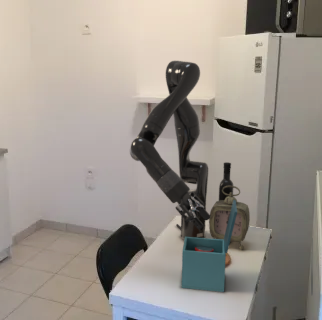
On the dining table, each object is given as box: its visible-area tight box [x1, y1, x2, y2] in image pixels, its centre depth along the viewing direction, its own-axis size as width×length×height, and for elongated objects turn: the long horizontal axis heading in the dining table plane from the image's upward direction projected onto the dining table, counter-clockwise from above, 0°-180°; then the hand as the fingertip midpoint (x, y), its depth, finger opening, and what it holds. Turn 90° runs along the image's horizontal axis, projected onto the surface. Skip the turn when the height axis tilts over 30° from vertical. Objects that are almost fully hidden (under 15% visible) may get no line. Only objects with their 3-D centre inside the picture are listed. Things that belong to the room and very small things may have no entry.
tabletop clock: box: [208, 185, 251, 250], centre depth 174 cm, size 14×9×25 cm, turn 65°
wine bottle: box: [218, 161, 234, 201], centre depth 189 cm, size 6×6×30 cm
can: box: [195, 246, 214, 252], centre depth 149 cm, size 6×6×10 cm
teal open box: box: [181, 237, 227, 293], centre depth 148 cm, size 14×12×13 cm
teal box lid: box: [224, 199, 237, 254], centre depth 143 cm, size 14×12×1 cm
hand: (205, 223), depth 144 cm, fingers open, 8 cm apart
